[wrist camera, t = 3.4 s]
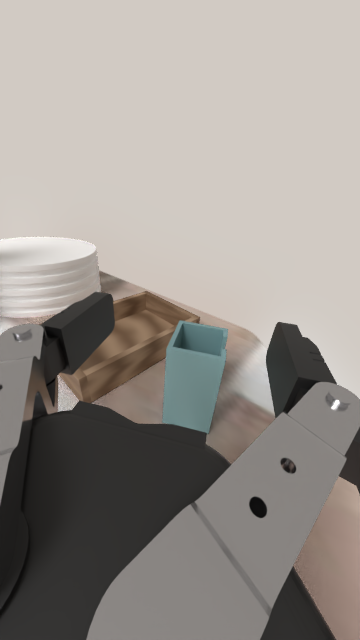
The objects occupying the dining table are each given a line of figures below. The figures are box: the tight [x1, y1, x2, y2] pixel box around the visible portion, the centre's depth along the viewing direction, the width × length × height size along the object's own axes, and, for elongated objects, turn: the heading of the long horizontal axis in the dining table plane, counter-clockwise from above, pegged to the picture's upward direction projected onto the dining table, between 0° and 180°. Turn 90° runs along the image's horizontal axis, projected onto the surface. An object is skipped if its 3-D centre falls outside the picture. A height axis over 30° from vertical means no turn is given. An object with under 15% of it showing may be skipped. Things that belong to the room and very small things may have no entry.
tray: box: [39, 291, 200, 403], centre depth 41 cm, size 24×16×5 cm, turn 137°
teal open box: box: [162, 320, 228, 434], centre depth 28 cm, size 6×6×12 cm
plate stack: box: [0, 237, 101, 318], centre depth 56 cm, size 28×28×12 cm
